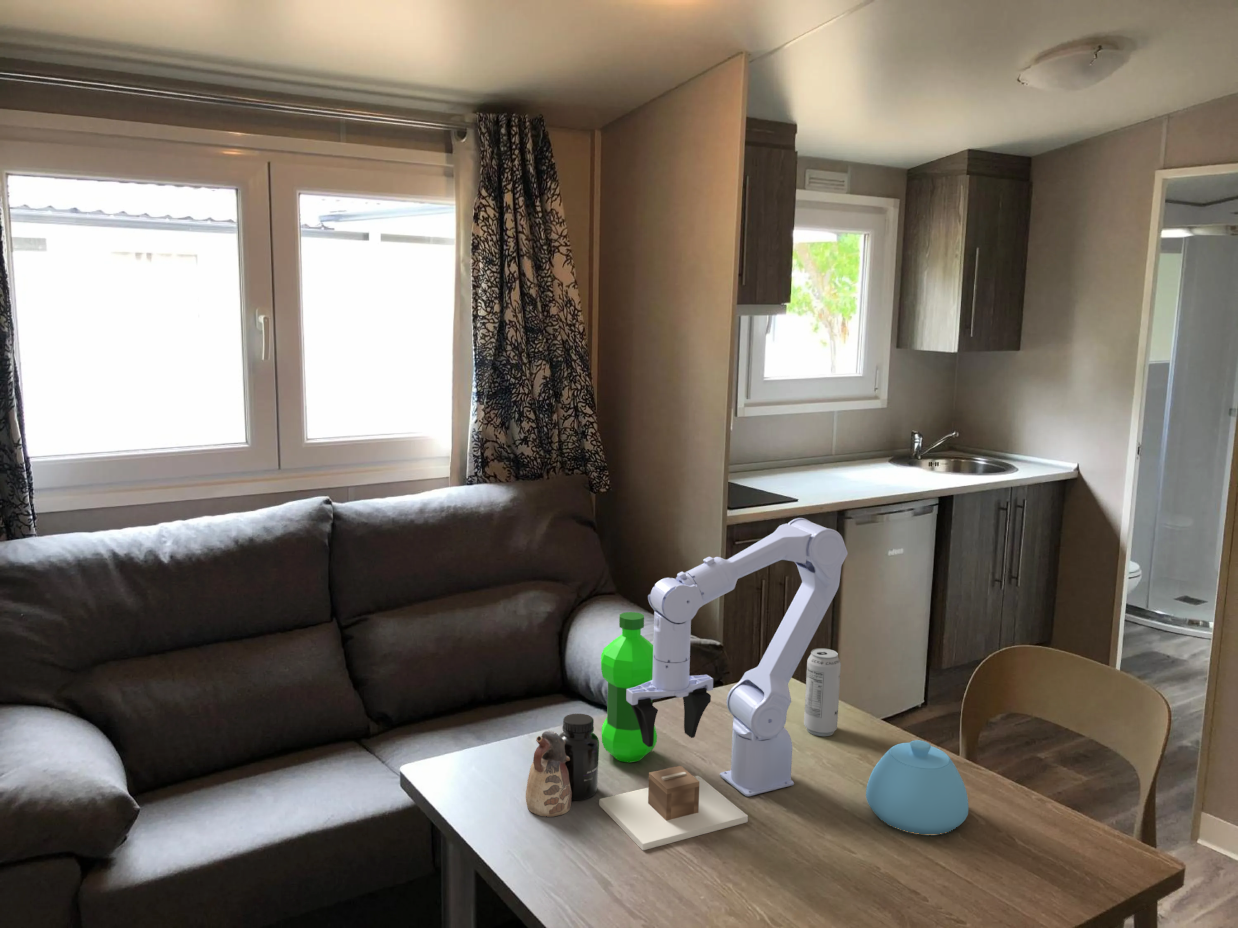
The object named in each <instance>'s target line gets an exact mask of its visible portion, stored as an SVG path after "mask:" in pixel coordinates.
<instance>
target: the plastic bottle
mask: <svg viewBox="0 0 1238 928" xmlns="http://www.w3.org/2000/svg"><path fill="white" fill-rule="evenodd" d="M618 619H619V622H618V623H619V628H621V629H622V630H621V634H620V635H619V636H617V638H615V639H613V640H612V641H611V642H609V644H607V646H605V647H604V648H603V650H602V652H601V655H600V670H601V675H602V678H604V680H605V681H606V682H607V709H606V710H607V711H606V712H607V713H606V714H607V715H606V718H605V719H604V722H603V724H602V726H601V742H602V743H601V744H602V746H603V748H604V749H605V751H606V752H608V753H609V754H610V755H611V756H613V757H614V759H616V760H617V761H618V762H622V763H623V762H624V763H635V762H640V761H641V760H642V759H644V757H645V756H646V755H648V754H649V753H650V752H652V750H654V748H655V746H656V745H657V742H658V741H657V740H658V739H657V738H658V735H657V733H658V732H657V729H656V725H655V724H654V741H653V746H652V747H648V746H647V745H645V744H644V743H643V741H642V735H641V731H640V727H639V723H638V720H637V718H636V715H635V713H634V711H633V709H632V707H631V705H630V703H629V702H627V701H626V689H629V688H633V687H636V686H638V685H641V684H643V683H646V682H648V681H651V680H652V673H653V643H651V641H649V640H648V639H647V638H645V637H644V636H643V635H642V634H641V633H642V631H641V630H642V629H644V627H645V615H644V613H640V612H634V611H627V612H622V613H620V614H619V618H618ZM651 703H653V699H652V700H651Z"/></svg>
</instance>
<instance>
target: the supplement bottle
mask: <svg viewBox="0 0 1238 928" xmlns="http://www.w3.org/2000/svg"><path fill="white" fill-rule="evenodd" d="M562 721H563V723H562V728H561V729H562V731H561V733H560V734H558V735H559V736H560V737H562V738H563V739H564V740H565V753H566V756H568V757H569V758H570V761H567V762H565V765H566V767H567V770H568V774H569V782H570V788H571V791H572V797H571V801H572V800H574V801H577V800H578V801H581V800H587V799H589V798H592V797H593V796H594V795H595V794H596V793H597V791H598V784H599V783H598V781H599V779H598V778H599V760H600V759H599V757H600V755H599V754H600V753H599V752H600V741H599V738H598V736H597V735H596V734H595V733H594V730H595V727H594V717H592V716H591V715H589V714H586V713H569V714H567V715H565V716H564V717H563V719H562Z"/></svg>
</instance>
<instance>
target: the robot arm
mask: <svg viewBox="0 0 1238 928" xmlns="http://www.w3.org/2000/svg"><path fill="white" fill-rule="evenodd" d="M848 554H849V552H848V550H847V548H846V544H845V541H844V538H843V536H842V534H840V532H838V531H837V530H835V529H833V528H827V527H826V526H825V527H824V526H822V525H820V524H818V523H814V522H812V521H810V520H808V519H807V518H803V517H797V518H794V519H792V520H790V521H789V522H788V523H783V524H781V525H780V524H779V526H778V527H777V528H775V530H774V531H773V532H772V533H770V534H769V535H767V536H765V537H763V538H762V539H760V540H758V541H757V542H755V543H753V544H751V545H750V546H748V547H747V548H745V549H743V550H741V551H739V552H738V553H736V554H734V555H732V556H731V557H729V558H727V559H724V558H723V557H720V556H715V557H711V556H707V557H705V558H704V559H702V560H703V563H700V564H699V565H697V566H695V567H693V568H691V569H689V570H687V571H685V572H684V571H679V572H678V573H677V574H676V577H675V578H673V577H664V578H662V579H660V580H658V581H657V582H656V583H654V586H653V587H652V589H651V591H650V593H649V594H648V595H647V600H648V603H649V605H650V607H651V608H652V609H653V611H654V613H653V618H654V619H653V636H652V639H653V640H652V641H653V642H652V645H653V673H652V680H651V681H648V682H646V683H643V684H641V685H638V686H636V687H633V688H629V689H626V701H627V702H629V703H630V705H631V707H632V709H633V711H634V713H635V715H636V718H637V720H638V723H639V727H640V731H641V735H642V741H643V743H644V744H645V745H647V746H648V747H652V746H653V741H654V725H655V722H656V719H657V714H658V711H659V710H658V708H656V707H655V706H654V702H652V703H651V700H652V701H653V700H657V699H661V698H667V697H676V698H682V699H683V710H684V711H683V712H684V713H683V715H684V716H683V731H684V734H685V735H687V736H688V737H689V738H690V739H693V738H695V737H696V733H697V730H698V728H699V723H700V721H701V718H702V716H703V715H704V712H705V710H706V708H707V707H708V705H710V703H711V699H712V695H711V694H710V693H709V691H713V690H714V678H713V677H711V676H710V675H708V674H700V675H699V674H698V675H690V666H691V665H690V662H691V657H690V656H691V638H692V637H691V635H692V633H691V632H692V629H691V627H692V626H691V625H692V620H693V619H694V617H695V616H696V615H697V613H698V611H699V609H700V608H701V607H703V606H704V605H706V604H708V603H710V602H712V601H714V600H716V599H718V598H719V597H721V596H724V595H725V594H728V593H730V592H732V591H733V590H735V588H736V586H737V585H736V584H737V581H738V579H741V578H743V577H745V576H747V575H750V574H752V573H754V572H757V571H759V570H761V569H763V568H766V567H768V566H770V565H773V564H775V563H777V562H779V561H789V562H794V564H795V565H796V566H797V570H798V572H799V576H800V579H801V583H800V586H799V588H798V590H797V591H796V594H795V595H794V597H793V599H792V601H791V603H790V605H789V606H788V609H787V610H786V613H785V614H784V616H783V618H782V620H781V622H780V624H779V626H778V628H777V629H776V632H775V633H774V635H773V637H772V638H771V641H770V642H769V645H768V646H767V648H766V650H765V652H764V654H763V655H762V657H761V660H760V661H759V664H758V665H757V666H756V667H754V668H751V669H749V670H747V671H745V672H744V674H743V675H742V677H741V678H740V680H739V681H738V682H737V683H736V684H734V685H733V686H732V687H731V689H730V690H728V693H727V696H726V702H725V703H726V708H727V710H728V712H729V714H731V715H732V737H731V756H730V757H731V760H730V770H726V771H721V772H720V773H719V777H721V778H722V779H723V780H724V781H726V782H727V783H728V784H729V785H731V786H732V787H733V788H735V789H736V790H737V791H739V793H741V794H742V795H743V796H745V797H752V796H756V795H759V794H763V793H767V792H771V791H775V790H779V789H783V788H786V787H790V786H794V784H795V783H794V780H792V762H793V742H792V738H791V735H790V733H789V731H788V730H787V729H786V727H785V725H786V722H787V713H788V710H789V707H790V705H791V703H792V698H791V693H790V688H789V687H790V686H789V684H790V681H791V680H792V677H793V676H794V673H795V671H796V670H797V668H798V666H799V664H800V662H801V660H802V659H803V656H804V655H805V653H806V650H807V648H808V647H809V645H810V643H811V641H812V639H813V637H814V636H815V633H816V632H817V630H818V628H819V625H820V624H821V622H822V621H823V618H824V617H825V614H826V613H827V610H828V609H829V607H830V605H831V603H832V601H833V599H834V597H836V596H835V595H836V593H837V591H838V590H839V587H840V581H841V580H840V579H841V572H842V565H843V563H845V562H844V561H845V560H846V558H847V556H848Z"/></svg>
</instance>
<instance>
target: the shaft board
mask: <svg viewBox="0 0 1238 928" xmlns="http://www.w3.org/2000/svg"><path fill="white" fill-rule="evenodd" d="M693 776H694V775H693ZM694 777H695V778H696V779H697V780H698V781H700V782H699V810H698V813H695V814H691V815H687V816H683V817H679V818H675V819H671V820H667V821H666V820H665V819H664V818H663V817H662V816H661V815H660V814H659V813H658V812H657V811H656V810H655V809H653V808H652V807H651V806H650V805H649V804H648V787H644V788H640V789H635V790H632V791H627V792H623V793H619V794H615V795H611V796H606V797H602V798H598V799H599V801H598V805H599V807H600V808H601V809H602V810H604V812H605V813H606V814H607V815H608V816H609V817H610V818H611V819H612V820H613V822H615V823H616V824H617V825H618V826H619V828H621V830H623V832H624V833H625V834H626V835H627V836H628V837H629V838H630V839H631V840H632V842H634V843H635V844H636V845H637V846H638V847H639V848H640V849H641V851H646V850H650V849H653V848H658V847H660V846H661V847H662V846H665V845H667V844H668V845H669V844H672V843H675V842H676V843H677V842H680V841H683V840H687V839H690V838H694V837H697V836H701V835H706V834H708V833H712V832H717V831H719V830H723V829H727V828H732V827H734V826H738V825H742V824H745V823H748V821H749V816H748V814H747V813H745V812H744V811H743V810H742V809H740V808H739V807H737V806H736V805H735V804H734V803H733V802H732V801H730V799H728V798H726V797H725V795H723V794H722V793H721V792H719V791H718V790H717V789H715V787H713V786H712V785H711V784H709V782H707V781H706V780H705V779H704V778H702V777H701V776H700V775H695V776H694Z"/></svg>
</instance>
